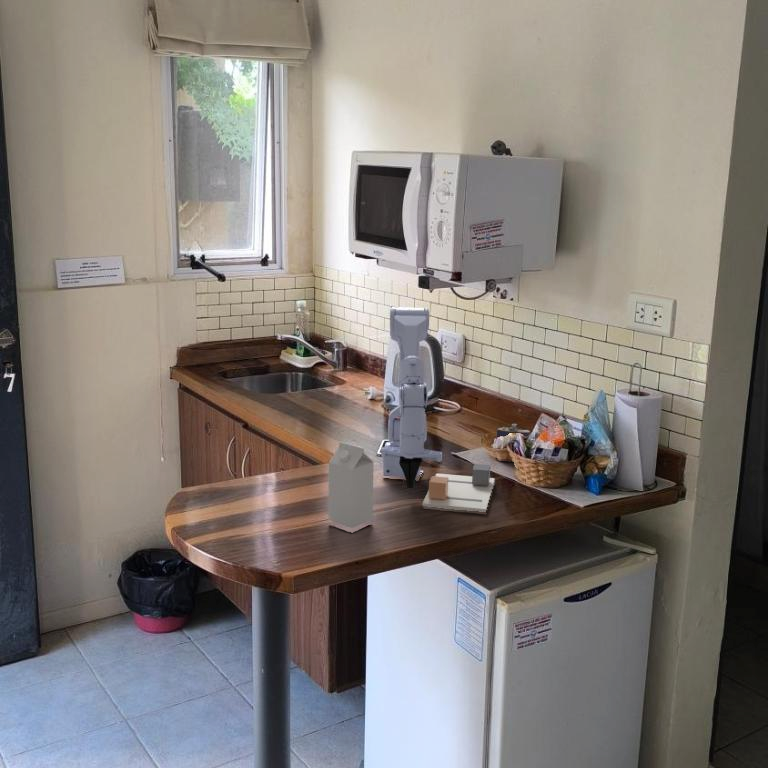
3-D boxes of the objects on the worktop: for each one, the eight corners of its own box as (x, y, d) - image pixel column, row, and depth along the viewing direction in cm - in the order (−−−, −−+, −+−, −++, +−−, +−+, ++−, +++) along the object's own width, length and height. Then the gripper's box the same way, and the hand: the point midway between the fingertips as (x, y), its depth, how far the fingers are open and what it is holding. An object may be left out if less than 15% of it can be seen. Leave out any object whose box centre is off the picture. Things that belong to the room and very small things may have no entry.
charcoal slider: (472, 484, 229) (472, 469, 228) (474, 478, 233) (474, 463, 232) (488, 485, 228) (488, 470, 227) (489, 480, 232) (490, 465, 231)
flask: (529, 460, 254) (531, 423, 251) (528, 464, 251) (530, 426, 249) (495, 458, 256) (497, 421, 253) (494, 461, 253) (496, 424, 251)
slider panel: (422, 509, 217) (422, 502, 217) (436, 478, 238) (436, 473, 238) (485, 515, 214) (486, 508, 214) (494, 483, 235) (494, 478, 235)
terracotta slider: (428, 497, 219) (429, 482, 218) (431, 491, 223) (432, 476, 222) (445, 499, 218) (445, 483, 217) (447, 493, 223) (448, 477, 222)
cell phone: (375, 457, 256) (375, 454, 255) (382, 441, 270) (382, 438, 270) (403, 459, 255) (403, 455, 254) (408, 443, 269) (408, 440, 269)
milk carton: (349, 517, 211) (349, 438, 207) (372, 525, 207) (374, 444, 203) (328, 526, 206) (328, 445, 202) (351, 534, 202) (352, 451, 197)
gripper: (378, 435, 216) (377, 489, 219) (439, 440, 213) (437, 495, 217) (384, 427, 223) (383, 480, 226) (444, 431, 220) (442, 485, 223)
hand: (410, 487), depth 222 cm, fingers closed
